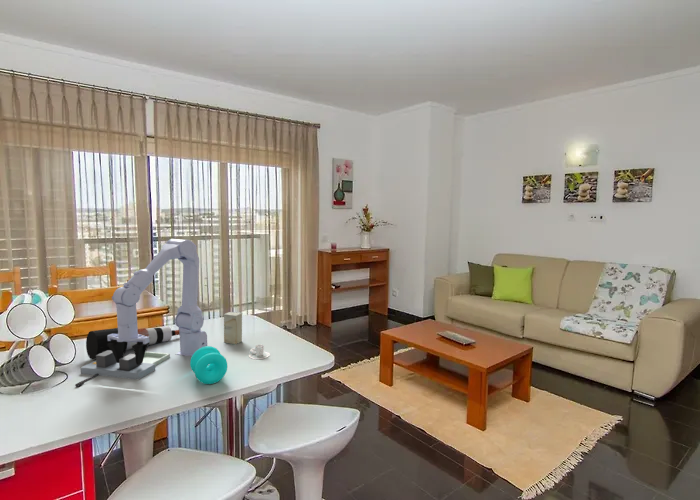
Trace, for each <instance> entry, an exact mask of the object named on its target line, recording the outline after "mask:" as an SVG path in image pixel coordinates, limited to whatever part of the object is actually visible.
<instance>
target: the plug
mask: <svg viewBox="0 0 700 500" xmlns="http://www.w3.org/2000/svg"><path fill="white" fill-rule="evenodd" d="M138 366H140V364H139V365H137V364H136V357H135V353H129V354H126V355H125V356H123V358H121V359H119V368H120V370H121V371H131V370H132V369H134V368H136V367H138Z"/></svg>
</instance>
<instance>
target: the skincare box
mask: <svg viewBox="0 0 700 500" xmlns="http://www.w3.org/2000/svg"><path fill="white" fill-rule="evenodd" d="M242 341H243V313H242V312H235V311H229V312H226V313H223V343H227V344H232V345H237V343H238V344H240V343H241V342H242Z"/></svg>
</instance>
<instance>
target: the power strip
mask: <svg viewBox="0 0 700 500" xmlns="http://www.w3.org/2000/svg"><path fill="white" fill-rule="evenodd" d="M154 371H156V366H155V364H150V363H141V364H140V366H138V367H136V368H134V369H132V370H131V371H121V370H120V368H119V363H117V362H116V359H115V356H114V354H113V352H112V351H111V350H107V351H105V352H102V353H100V354H98V355H96V359H95V360H94V361H92V362H90V363H87V364H85V365H83V366H81V367H80V373H81V374H84V375H91V376H90V377H88V378H86V379H84V380H81V381H79V382H77V383H75V384H74V386H75V388H77V387H80V386H82V385H84V384H85V383H87V382H88V381H90V380H92V379H95V378H96V377H99V376H102V377H112V378H121V379H131V380H140V379H142V378H143V377H145V376H147V375H149V374H150V373H152V372H154Z"/></svg>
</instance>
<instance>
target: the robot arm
mask: <svg viewBox="0 0 700 500" xmlns="http://www.w3.org/2000/svg"><path fill="white" fill-rule="evenodd" d="M197 249H198V246H197V245H196V244H195V243H194V242H193V240H191V239H179V238H177V239H176V238H169V240H167V241H166V242H165V244H163V245H162V247H161V249H160V250H159V252H158V253H157V254H156V255H155V256H154V258H153V259H152V260H151V261H150V262H149V263H148V264H147V266H146V267H145V268H143V269H138V270H135V271H134V272H133V275H132V276H131V278H130V279H129V280H127V281H126V282H124V283H123V285H122V286H120V287H118V288H116V289H115V290H114V292H113V295H112V296H111V300H112V302H113V303H115V306H116V318H117V321H116V322H117V328H118V334H110V335H107V338H108V341H111V342H110V343H108V347H109V348H110V349H111V351H112V352H113V354H114V356H115V359H116V362H117V363H119V359H121V358H123V357H124V354H123V349H124V343H125V342H135V343H137V344H135V345H133V346H132V349H133V351H134V354H135V357H136V364H137V365H139V364H141V363H143V358H144V354H145V352H147V348H148V346H150V345H149V342H150V340H149V337H147V336H143V335H140V334H138V329H139V328H138V315H137V314H138V312H137V310H138V309H137V303H139V301H140V298H141V295H142V293H143V292H144V291H145V290H146V289H147V288H148V287H149V285H151V283H152V282H154V281H153V280H154V275H156V273H158V272H159V270H161V269H162V268H163V267H164V266H165V265H166V264H167V263H168V262H169V261H171V260H176V259H177V260H178V261H179V262H180V263H182V264H183V267H182V269H183V270H182V291H181V292H182V293H181V305H180V306H179V307H178V308H177V311H176V312H177V313H176V315H175V318H174V324H175V326H176V327H178V330H179V333H180V335H179V351H178V352H175V354H174V355H176V356H187V357H192V355H193V354H194V353H195V352H196V351H197V350H198V349H200V348H202V347H205V346H208V335H207V332H206V331H204V330H201V329H202V327H203V326H204V317H203V311H202V309H201V308H200V306H199V305H198V295H199V275H200V272H199V271H200V270H199V268H200V258H199V255H198V250H197Z"/></svg>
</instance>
